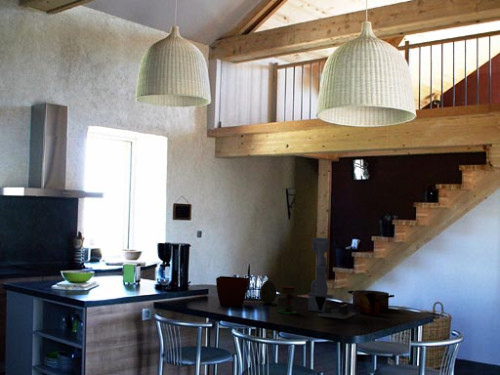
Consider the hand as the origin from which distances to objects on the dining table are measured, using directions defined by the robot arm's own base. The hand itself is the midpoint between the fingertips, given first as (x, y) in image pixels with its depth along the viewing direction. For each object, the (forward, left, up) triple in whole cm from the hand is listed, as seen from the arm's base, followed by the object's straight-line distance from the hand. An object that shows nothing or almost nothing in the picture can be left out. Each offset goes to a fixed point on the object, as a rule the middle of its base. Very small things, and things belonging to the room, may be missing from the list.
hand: (320, 310), depth 367 cm
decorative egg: (-44, +25, -3) cm, 51 cm away
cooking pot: (+17, +47, -3) cm, 50 cm away
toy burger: (-19, -3, -3) cm, 19 cm away
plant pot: (-58, +2, -3) cm, 58 cm away
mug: (+23, +25, -3) cm, 34 cm away
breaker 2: (+11, +14, -2) cm, 18 cm away
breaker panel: (+8, +7, -3) cm, 11 cm away
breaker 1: (+11, +7, -1) cm, 13 cm away
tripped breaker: (+5, 0, -2) cm, 5 cm away
